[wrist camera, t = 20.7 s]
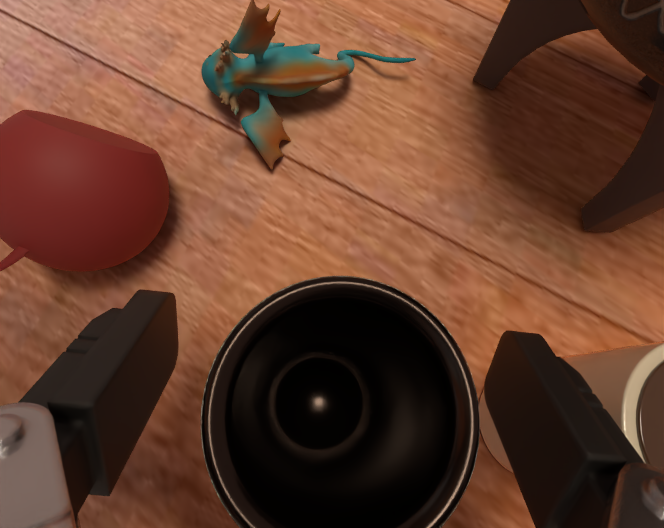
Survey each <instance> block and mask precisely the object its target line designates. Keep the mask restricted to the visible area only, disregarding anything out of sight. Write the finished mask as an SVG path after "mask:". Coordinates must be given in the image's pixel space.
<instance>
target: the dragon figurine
mask: <svg viewBox="0 0 664 528" xmlns="http://www.w3.org/2000/svg"><path fill="white" fill-rule="evenodd" d="M268 11H269V4H268V5H267V6H266V7H265V8H264V9H259V8H257V7H256V5H255V2H254V0H251V2H250V4H249V7H248V9H247V11H246V14H245V16H244V18H243V21H242V23H241V26H240V28H239V30H238V32H237V34H236V35H235V36H234V38H233V39H232V41H231V43H230V44H229V42H228V41H227V40H225V41H224V44H223V43H221V44H222V46H221V48H220V49H217V50H216V51H215V52H214V53H213V54H212V55H209V56H208V58H207V59H206V60H205V61H204V63H203V65H202V77H203V80H204V82H205V84H206V86H207V87H208V88H209V90H210V91H211V92H213V93H214V94H215V95H217V96H218V97H219V98H220V99H222V101H221V103H225V104H226V105H231V111H232V110H233V113H235V115H236V114H237V112H239V103H238V101H237V98H238V97H239V95H240V93H241V92H242V91H243V90H244V89H252V90H254V91H255V92H257V93H259V101H260V106H259V109H258V110H257V111H256V112H255V113H253V114H251V115H249V116H247V117H244V118H243V119H242V120H241V124H242V127H243V129H244V131H245V132H246V134H247V135H248V137H249V138H250V139H251V141H252V142H253V144H254V145H255V147H256V148H257V150H258V151H259V153H260V154H261V156H262V157H263V159H264V160H265V162H266V163H267V164H268V166H269V167H270V168H271V169H272V170H273V164H274V162H275V161H276V159H278V158H279V157H283V154H282V152H281V150H280V149H279V143H280V141H281V140H288V141H291V140H290V138H289V137H288V136H287V134H286V133H285V131H284V129H283V126H282V121H283V119H282V118H280V117H279V116H278V114H277V113H276V111H275V109H274V108H273V106H272V105H271V103H270V101H269V99H268V95H274V96H280V97H295V96H299V95H302V94H305V93H307V92H309V91H311V90H312V89H315V88H317V87H320V86H322V85H324V84H327V83H329V82H331V81H334V80H337V79H341V78H343V77H345V76H346V75H348V74H350V73H351V72H352V71H353V69H354V61H353V59H352V57H350V56H348V55H357V56H363V57H368V58H372V59H375V60H379V61H383V62H390V63H405V62H410V61H414V60H416V59H415V58H391V57H382V56H378V55H375V54H370V53H366V52H362V51H357V50H344V51H340V52H338V54H337V57H338V60H337V61H336V60H329V59H324V58H320V57H317V56H315V55H312V54H319V49H320V44H305V45H299V46H287V47H283V46H284V45H285V44H284V43H270V41H271V39H272V37H273V36H274V35H275V31H274V28H275V24H276V22H277V19H278V16H279V14H280V9H279V11H278V12H277V14H276V16H275V17H274V18H273V19H272V20H271V21H270V22H268V21H267V19H266V16H267V14H268ZM230 50H231V51H232V52H233V53H243V54H249V55H248V57H247V58H245V59H241V58H238V57H236V56H235V55H234V54H233V53H232V52H231V51H230Z"/></svg>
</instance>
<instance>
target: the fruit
mask: <svg viewBox="0 0 664 528" xmlns="http://www.w3.org/2000/svg"><path fill="white" fill-rule="evenodd" d="M168 206H169V183H168V178H167V174H166V170H165V167H164V165H163V163H162V161H161V158H160V156H159V155H158V153H157V152H156V151H155V150H154V149H152V148H150V147H148V146H146V145H144V144H141V143H139V142H137V141H134V140H132V139H129V138H126V137H124V136H121V135H118V134H115V133H112V132H109V131H106V130H103V129H100V128H97V127H94V126H91V125H88V124H84V123H81V122H78V121H74V120H71V119H67V118H63V117H60V116H56V115H52V114H47V113H43V112H38V111H32V110H22V111H20V112H18V113H16V114H14V115H13V116H11V117H10V118H8V119H7V120H5V121H4V122H3V123H2V124H0V238H1V239H2V240H3V241H4V242H5V243H7V244H8V245H9V246H10V247H11V248H13V249H14V251H13V252H11V253H10V254H9V255H8V256H7V257H6V258H5V259H4V260H2V261H1V262H0V271H2V270H4V269H6V268H7V267H9V266H11V265H12V264H14V263H15V262H17V261H18V260H20V259H21V258H22V257H24V256H25V257H26V258H28V259H31V260H33V261H35V262H37V263H39V264H42V265H45V266H48V267H52V268H56V269H60V270H67V271H95V270H101V269H106V268H109V267H113V266H116V265H118V264H121V263H123V262H125V261H127V260H129V259H131V258H133V257H134V256H136V255H137V254H139V253H140V252H141V251H143V250H144V249H145V248H146V247H147V246H148V245H149V244H150V243H151V242H152V241H153V239H154V238H155V237H156V235H157V234H158V232H159V231H160V229H161V227H162V225H163V223H164V220H165V218H166V215H167V211H168Z"/></svg>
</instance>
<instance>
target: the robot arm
mask: <svg viewBox="0 0 664 528" xmlns="http://www.w3.org/2000/svg"><path fill="white" fill-rule="evenodd" d="M177 356H178V328H177V311H176V299H175V295H174V294H173V293H168V292H159V291H150V290H138V291H137V292H136V293H135V294H134V296H133V297H132V298H131V299H130V301H129V302H128V303H127V304H126V305H125V307H124V308H123V309H118V308H112V309H110V310H108V311H107V312H105V313H103V314H102V315H100V316H98V317H96V318H95V319H93V320H92V321H91V322H90V323H89V324H88V325H87V326H86V327H85V328H84V330H83V331H82V332H81V333H80V334H79V335H78V339H75V340H74V341H73V342H72V343H71V344H70V345H69V346H68V347H67V350H66V352H63V353H62V354H61V355H60V356H59V357H58V359H57V360H56V361H55V362H54V363H53V364H52V365H51V366H50V368H49V369H48V370H47V371H46V372H45V373H44V374H43V375H42V377H41V378H40V379H39V380H38V381H37V382H36V383H35V384H34V385H33V387H32V388H31V389H30V390H29V391H28V392H27V393H26V394H25V396H24V397H23V398H22V399H21V400H20V401H19V402H18V403H13V404H7V405H3V406H0V528H81V527H80V522H79V517H78V512H79V510H80V509H81V507H82V505H83V503H84V502H85V500H86V498H87V496H88V494H90V495H101V496H110V494H111V492H112V490H113V488H114V486H115V484H116V482H117V480H118V478H119V476H120V475H121V473H122V471H123V469H124V467H125V465H126V463H127V461H128V459H129V457H130V455H131V453H132V451H133V449H134V447H135V445H136V443H137V441H138V439H139V437H140V435H141V433H142V431H143V429H144V427H145V425H146V423H147V421H148V420H149V418H150V416H151V414H152V412H153V410H154V408H155V406H156V404H157V402H158V400H159V398H160V396H161V394H162V392H163V390H164V388H165V386H166V384H167V382H168V380H169V378H170V376H171V374H172V372H173V370H174V368H175V365H176V361H177ZM484 397H485V402H486V405H487V408H488V410H489V413H490V415H491V418H492V420H493V423H494V425H495V428H496V430H497V433H498V435H499V438H500V440H501V443H502V445H503V448H504V450H505V452H506V455H507V457H508V460H509V462H510V465H511V467H512V470H513V472H514V475H515V477H516V480H517V482H518V485H519V487H520V490H521V492H522V495H523V497H524V500H525V502H526V505H527V507H528V510H529V512H530V515H531V517H532V520H533V522H534V525H535V527H536V528H664V470H663V469H661V468H658V467H655V466H653V465H649V464H645V463H644V461H643V460H642V458H641V457H640V456H639V454H638V453H637V451H636V450H635V449H634V447H633V446H632V445H631V443H630V442H629V440H628V439H627V438H626V436H625V435H624V433H623V432H622V431H621V429H620V428H619V427H618V425H617V424H616V422H615V421H614V420H613V418H612V417H611V415H610V414H609V413H608V411H607V410H606V409H603V404H602V403H601V402H600V400H599V399H598V397H597V396H596V395H595V394H593V393H592V389H591V388H590V386H589V385H588V384H587V382H586V381H585V379H584V378H583V377H582V375H581V374H580V373H579V372H578V371H577V370H576V369H574V368H573V367H572V366H571V365H570V364H568V363H567V362H566V361H565V360H564V359H562V358H561V357H556V356H555V354H554V353H553V351H552V350H551V348H550V347H549V345H548V344H547V342H546V341H545V340H544V338H543V337H542V336H541V335H540V334H535V333H526V332H517V331H506V332H504V333H503V335H502V336H501V339H500V341H499V344H498V347H497V349H496V352H495V355H494V357H493V360H492V363H491V365H490V368H489V371H488V373H487V376H486V379H485V384H484Z"/></svg>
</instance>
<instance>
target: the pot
mask: <svg viewBox="0 0 664 528" xmlns="http://www.w3.org/2000/svg"><path fill="white" fill-rule="evenodd" d="M561 358H562V359H564V360H565V361H566V362H567V363H568V364H570V365H571V366H572V367H573V368H574V369H576V370H577V371H578V372H579V373H580V374H581V375H582V377H583V378H584V379H585V381H586V382H587V384H588V385H589V386H590V388H591V389H592V393H593V394H595V395H596V396H597V397H598V399H599V400H600V402H601V403H602V404H603V409H606V410H607V411H608V413H609V414H610V415H611V417H612V418H613V420H614V421H615V422H616V424H617V425H618V427H619V428H620V429H621V431H622V432H623V433H624V435H625V436H626V438H627V439H628V440H629V442H630V443H631V445H632V446H633V447H634V449H635V450H636V451H637V453H638V454H639V456H640V457H641V458H642V460H643V461H644V463H645V464H649V465H653V466H655V467H658V468H661V469H663V470H664V341H662V342H656V343H649V344H642V345H636V346H629V347H623V348H616V349H610V350H603V351H597V352H590V353H583V354H577V355H570V356H564V357H561ZM479 416H480V430H481V433H482V436H483V439H484V441H485V443H486V446H487V448H488V449H489V451H490V452H491V454H492V455H493V456H494V458H495V459H496V460H497V461H498V462H499V463H500V464H501V465H502V466H503V467H504V468H506V469H507V470H508V471H510V472H512V473H513V474H514V472H513V470H512V467H511V465H510V462H509V460H508V457H507V455H506V452H505V450H504V448H503V445H502V443H501V440H500V438H499V435H498V433H497V430H496V428H495V425H494V423H493V420H492V418H491V415H490V413H489V410H488V408H487V405H486V402H485V397H484V390H483V392H482V395H481V398H480V402H479Z"/></svg>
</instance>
